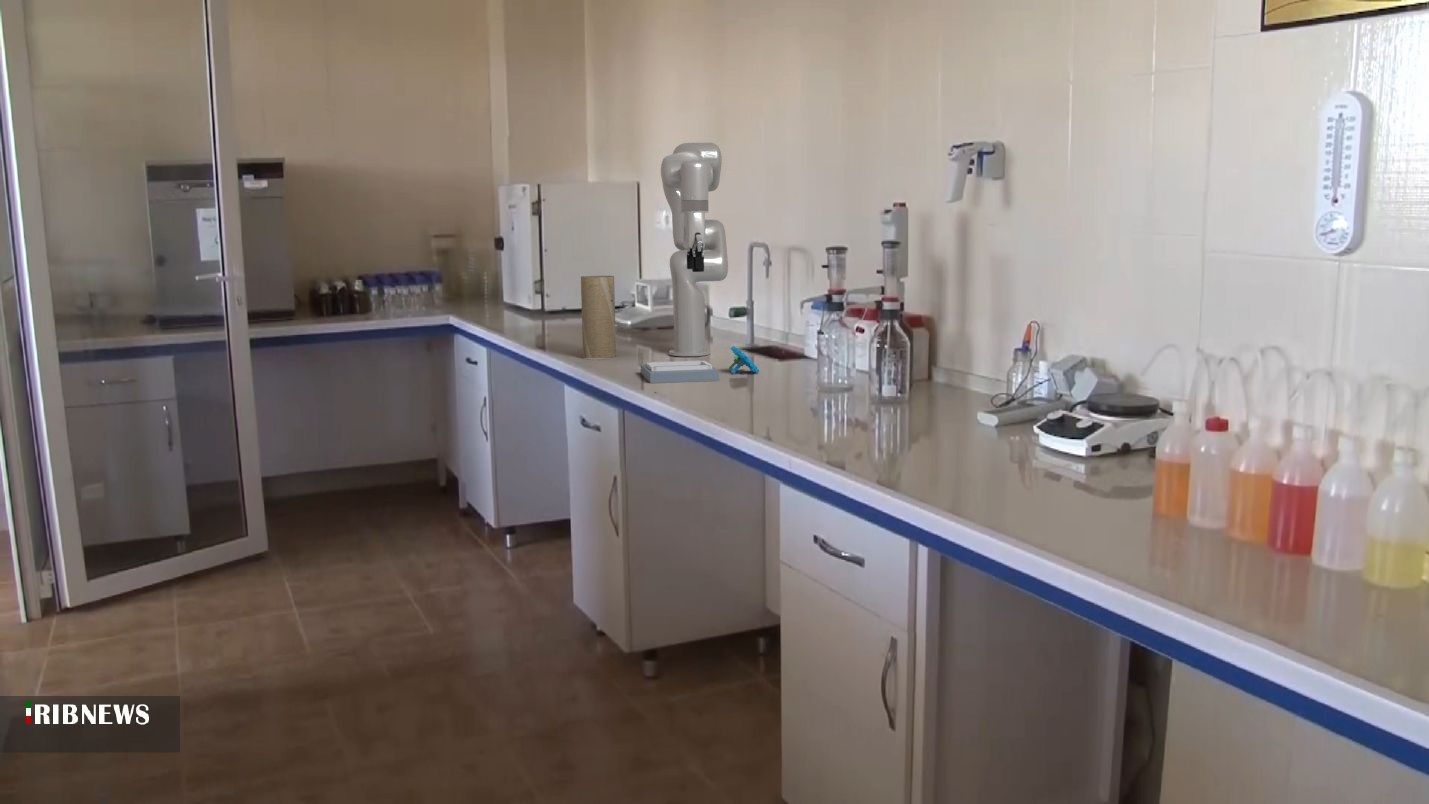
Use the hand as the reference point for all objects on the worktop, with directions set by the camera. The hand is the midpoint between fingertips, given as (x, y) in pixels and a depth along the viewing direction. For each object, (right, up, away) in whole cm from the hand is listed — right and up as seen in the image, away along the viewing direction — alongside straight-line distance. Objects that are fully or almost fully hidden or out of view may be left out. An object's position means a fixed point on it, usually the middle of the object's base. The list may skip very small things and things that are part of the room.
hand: (695, 270), depth 316 cm
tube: (-30, -23, +34) cm, 51 cm away
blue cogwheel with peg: (+15, -30, -3) cm, 34 cm away
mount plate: (-4, -30, -9) cm, 31 cm away
